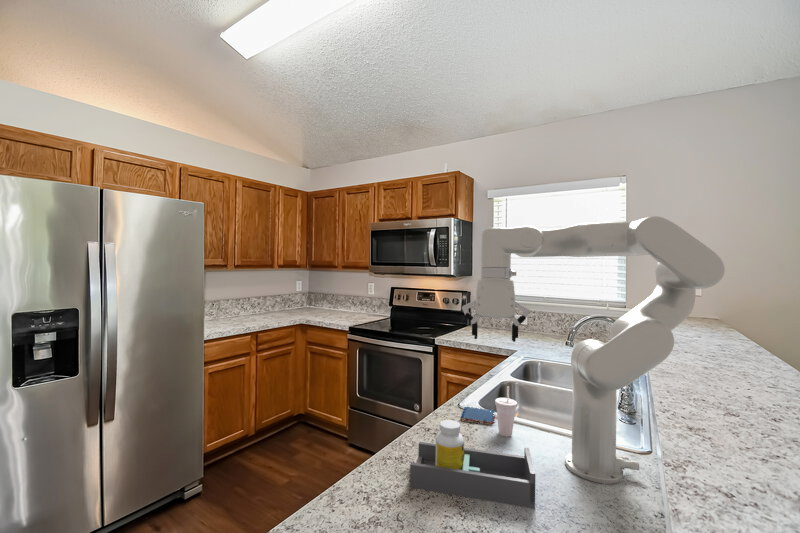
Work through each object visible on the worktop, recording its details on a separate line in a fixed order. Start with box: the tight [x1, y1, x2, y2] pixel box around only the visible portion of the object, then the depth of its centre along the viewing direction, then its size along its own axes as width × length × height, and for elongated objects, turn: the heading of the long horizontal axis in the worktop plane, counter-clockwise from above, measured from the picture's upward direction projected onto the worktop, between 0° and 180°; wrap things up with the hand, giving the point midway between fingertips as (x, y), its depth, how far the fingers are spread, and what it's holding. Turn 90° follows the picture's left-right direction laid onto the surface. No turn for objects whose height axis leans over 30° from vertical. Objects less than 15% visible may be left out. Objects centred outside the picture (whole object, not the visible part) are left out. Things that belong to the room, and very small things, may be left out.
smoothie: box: [494, 386, 518, 438], centre depth 105 cm, size 6×6×14 cm
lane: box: [409, 441, 536, 510], centre depth 80 cm, size 26×11×7 cm, turn 76°
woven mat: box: [460, 406, 496, 426], centre depth 117 cm, size 10×11×2 cm
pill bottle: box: [435, 419, 465, 470], centre depth 81 cm, size 6×6×12 cm
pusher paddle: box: [463, 454, 480, 473], centre depth 80 cm, size 4×8×3 cm, turn 166°
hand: (494, 339), depth 93 cm, fingers open, 9 cm apart
